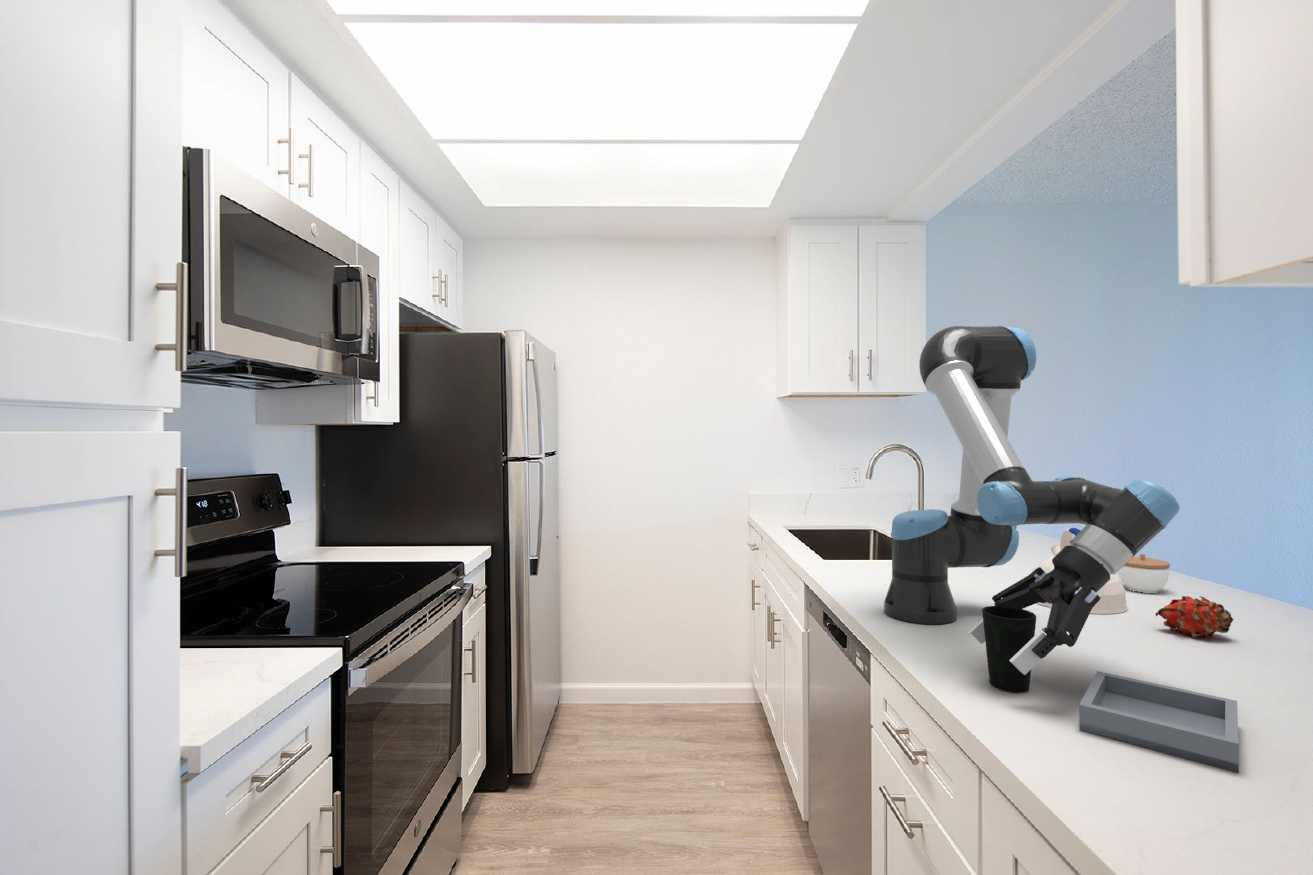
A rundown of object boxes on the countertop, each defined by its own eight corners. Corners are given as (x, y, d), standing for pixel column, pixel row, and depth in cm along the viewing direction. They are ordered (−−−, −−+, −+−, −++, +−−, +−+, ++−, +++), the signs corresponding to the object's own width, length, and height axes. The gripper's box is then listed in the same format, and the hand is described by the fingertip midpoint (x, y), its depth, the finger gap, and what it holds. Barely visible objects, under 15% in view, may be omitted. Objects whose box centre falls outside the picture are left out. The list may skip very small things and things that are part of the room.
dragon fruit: (1241, 650, 119) (1162, 648, 125) (1228, 615, 125) (1154, 614, 131) (1239, 621, 115) (1157, 620, 122) (1226, 587, 121) (1149, 587, 128)
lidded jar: (1132, 595, 153) (1132, 558, 153) (1108, 584, 164) (1107, 549, 164) (1180, 596, 151) (1180, 559, 151) (1152, 586, 162) (1152, 550, 162)
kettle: (1101, 593, 155) (1101, 522, 155) (1146, 617, 135) (1146, 536, 135) (1013, 589, 160) (1013, 521, 160) (1044, 612, 140) (1044, 533, 140)
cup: (1044, 697, 95) (1044, 620, 95) (991, 693, 96) (991, 618, 96) (1025, 678, 102) (1025, 606, 102) (976, 674, 104) (975, 604, 104)
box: (1079, 729, 85) (1079, 704, 85) (1097, 693, 96) (1097, 671, 96) (1238, 772, 74) (1238, 743, 74) (1237, 725, 85) (1237, 700, 85)
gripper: (1167, 597, 86) (1057, 701, 87) (1059, 560, 111) (975, 642, 112) (1127, 559, 86) (1019, 664, 87) (1029, 531, 111) (945, 613, 112)
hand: (994, 652), depth 100 cm, fingers open, 13 cm apart
